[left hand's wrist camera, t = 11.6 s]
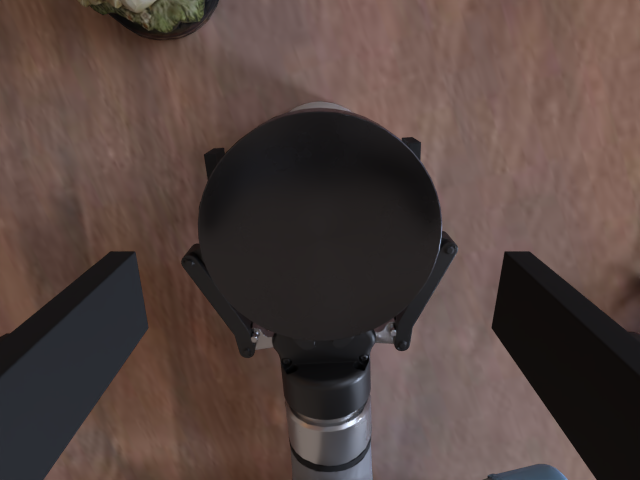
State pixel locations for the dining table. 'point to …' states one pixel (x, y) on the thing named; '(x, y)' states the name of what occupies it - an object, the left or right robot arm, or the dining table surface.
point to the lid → (319, 225)
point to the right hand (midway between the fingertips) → (312, 144)
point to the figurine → (157, 15)
